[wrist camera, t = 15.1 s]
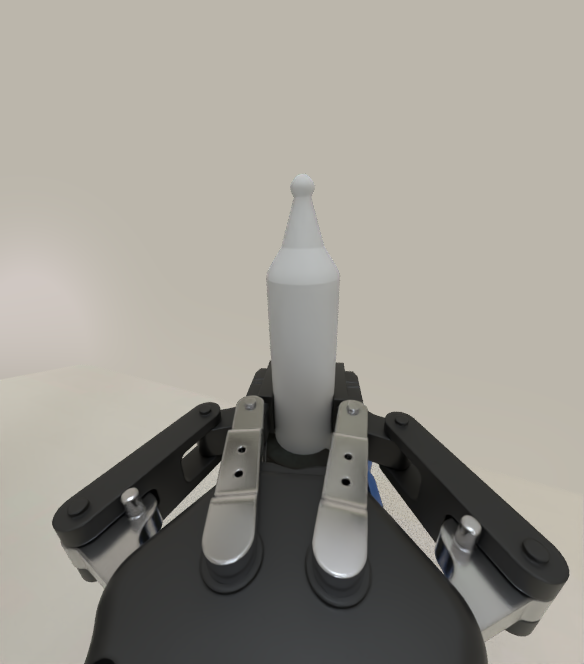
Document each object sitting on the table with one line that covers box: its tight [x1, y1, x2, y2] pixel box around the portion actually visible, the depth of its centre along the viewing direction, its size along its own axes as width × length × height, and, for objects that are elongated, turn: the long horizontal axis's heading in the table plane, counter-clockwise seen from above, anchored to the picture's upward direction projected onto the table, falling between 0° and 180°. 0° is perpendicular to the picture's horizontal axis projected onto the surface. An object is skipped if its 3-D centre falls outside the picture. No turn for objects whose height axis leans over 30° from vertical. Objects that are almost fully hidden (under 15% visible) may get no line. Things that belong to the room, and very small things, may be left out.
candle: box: [266, 174, 340, 469], centre depth 14 cm, size 5×5×25 cm
